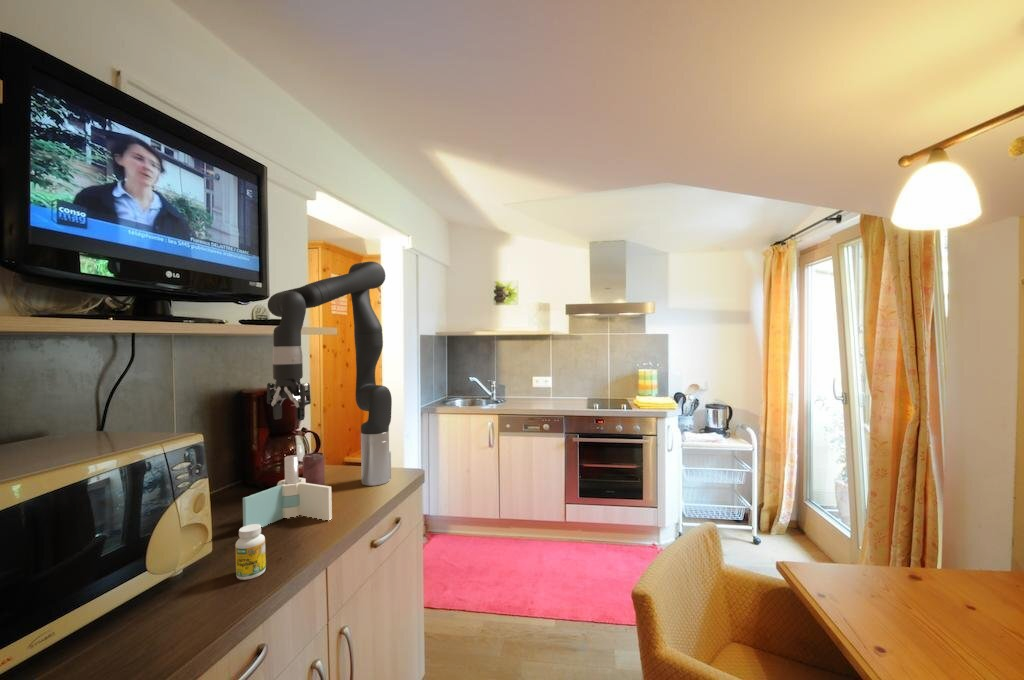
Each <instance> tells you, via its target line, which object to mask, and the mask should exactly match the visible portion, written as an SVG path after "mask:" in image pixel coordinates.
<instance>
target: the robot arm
mask: <svg viewBox="0 0 1024 680" xmlns="http://www.w3.org/2000/svg"><path fill="white" fill-rule="evenodd" d="M385 280H386V272H385V269H384V267H383V265H381V264H380V263H379V262H376V261H364V262H357V263H354V264H352V265H351V266H350V267H349V270H348V273H345V274H341V275H337V276H331V277H327V278H324V279H323V278H322V279H320V280H316V281H313V282H311V283H307V284H305V285H303V286H299V287H295V288H291V289H287V290H283V291H278V292H276V293H274V294H272V295H271V296H270V297H269V298H268V301H267V309H268V311H269V312H270V313H271V314H272V315H273V316H275V317H278V318H281V319H280V323H279V325H277V326H276V327H274V329H273V335H272V336H273V337H272V339H273V350H272V378H273V380H274V382H268V383H267V385H266V403H267V405H268V404H269V405H271V407H272V416H273V419H274V420H281V419H282V418H283V405H282V404H283V402H284V400H286V399H289V400H290V401H291V402H292V403H293V404H294V405H295V421H296V422H300V421H304V420H305V417H306V416H305V415H306V411H305V407H306V406H308V405H311V403H312V401H311V385H310V383H308V382H305V383H301V379H302V378H303V377H304V374H303V373H304V372H303V371H304V369H303V368H304V367H303V349H302V329H303V325H304V322H305V321H304V320H305V317H306V311H307V309H311V308H317V307H319V306H321V305H324V304H327V303H330V302H332V301H334V300H337V299H340V298H342V297H344V296H346V295H349V294H350V298H351V304H352V305H351V306H352V315H353V316H352V317H353V330H354V331H353V332H354V333H353V334H354V335H353V337H354V349H355V365H356V366H355V367H356V368H355V369H356V371H355V372H356V374H355V376H356V377H355V403H356V405H357V407H358V408H359V410H361V411H365V412H368V416H367V420H366V421H365V422H363V423H362V424H361V425H360V458H361V459H360V462H361V464H360V465H361V466H360V467H361V468H360V470H361V484H362V485H364V486H379V485H385V484H386V483H388V482H389V481H390V480H391V479H392V452H391V451H390V425H391V421H392V404H393V403H392V401H393V400H392V394H391V390H390V389H389V388H388V387H387V386H386V385H379V384H377V383H376V382H377V381H376V369H377V365H378V361H379V360H380V357H381V354H382V351H383V347H384V340H383V339H384V338H383V327H382V324H381V322H380V320H379V318H378V316H377V314H376V312H375V311H374V309H373V306H372V304H371V303H372V302H371V297H370V296H371V295H370V290H373V289H377V288H380V287H381V286H382V285H383V284H384V282H386V281H385Z"/></svg>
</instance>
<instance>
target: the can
mask: <svg viewBox="0 0 1024 680" xmlns="http://www.w3.org/2000/svg"><path fill="white" fill-rule="evenodd" d="M325 461H326V460H325V455H324V452H310V453H307V454H303V457H302V478H306V483H310V484H317V485H324V486H326V483H325V481H326V480H325V479H326V475H325V474H326V472H325V469H326V468H325V465H326V464H325Z"/></svg>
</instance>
